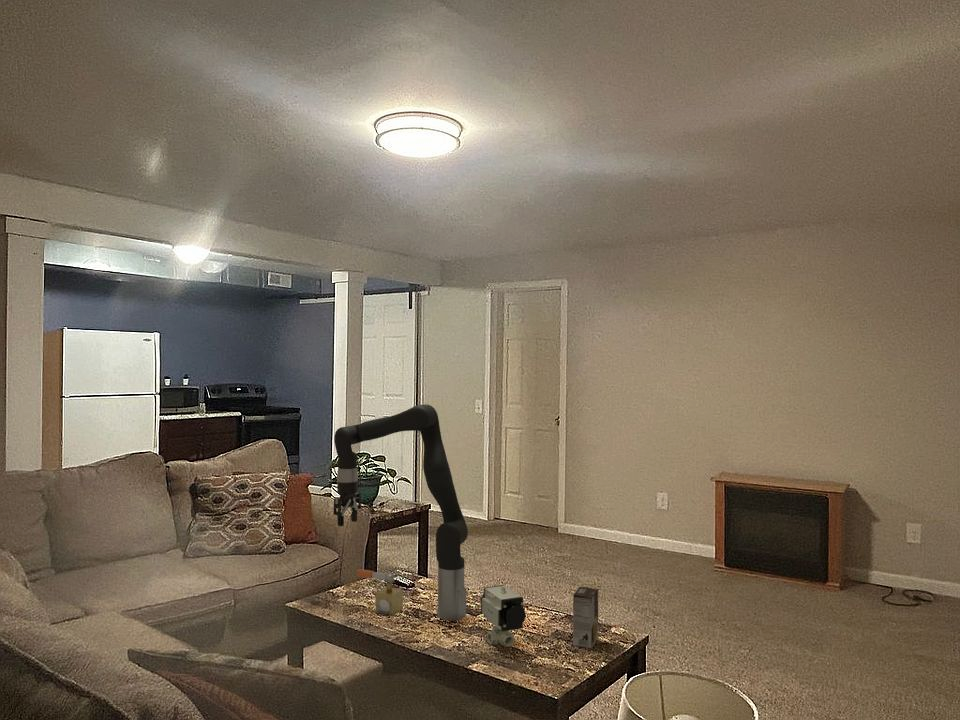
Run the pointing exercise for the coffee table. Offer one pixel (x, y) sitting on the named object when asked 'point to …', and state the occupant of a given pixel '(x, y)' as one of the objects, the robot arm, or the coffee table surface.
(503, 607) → the ball valve
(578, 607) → the coffee box
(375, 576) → the valve lever
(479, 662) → the coffee table surface
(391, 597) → the valve housing
